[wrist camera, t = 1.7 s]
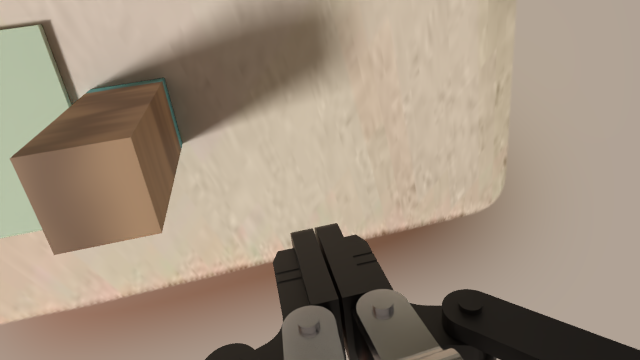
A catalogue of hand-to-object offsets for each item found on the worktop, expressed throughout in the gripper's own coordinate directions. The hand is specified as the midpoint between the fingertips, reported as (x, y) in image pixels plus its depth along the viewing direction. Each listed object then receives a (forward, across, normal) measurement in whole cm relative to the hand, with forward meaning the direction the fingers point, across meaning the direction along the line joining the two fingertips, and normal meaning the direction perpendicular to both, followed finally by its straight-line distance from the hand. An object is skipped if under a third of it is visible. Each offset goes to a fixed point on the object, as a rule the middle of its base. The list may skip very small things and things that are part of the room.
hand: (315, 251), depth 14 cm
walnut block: (+21, +9, 0) cm, 23 cm away
